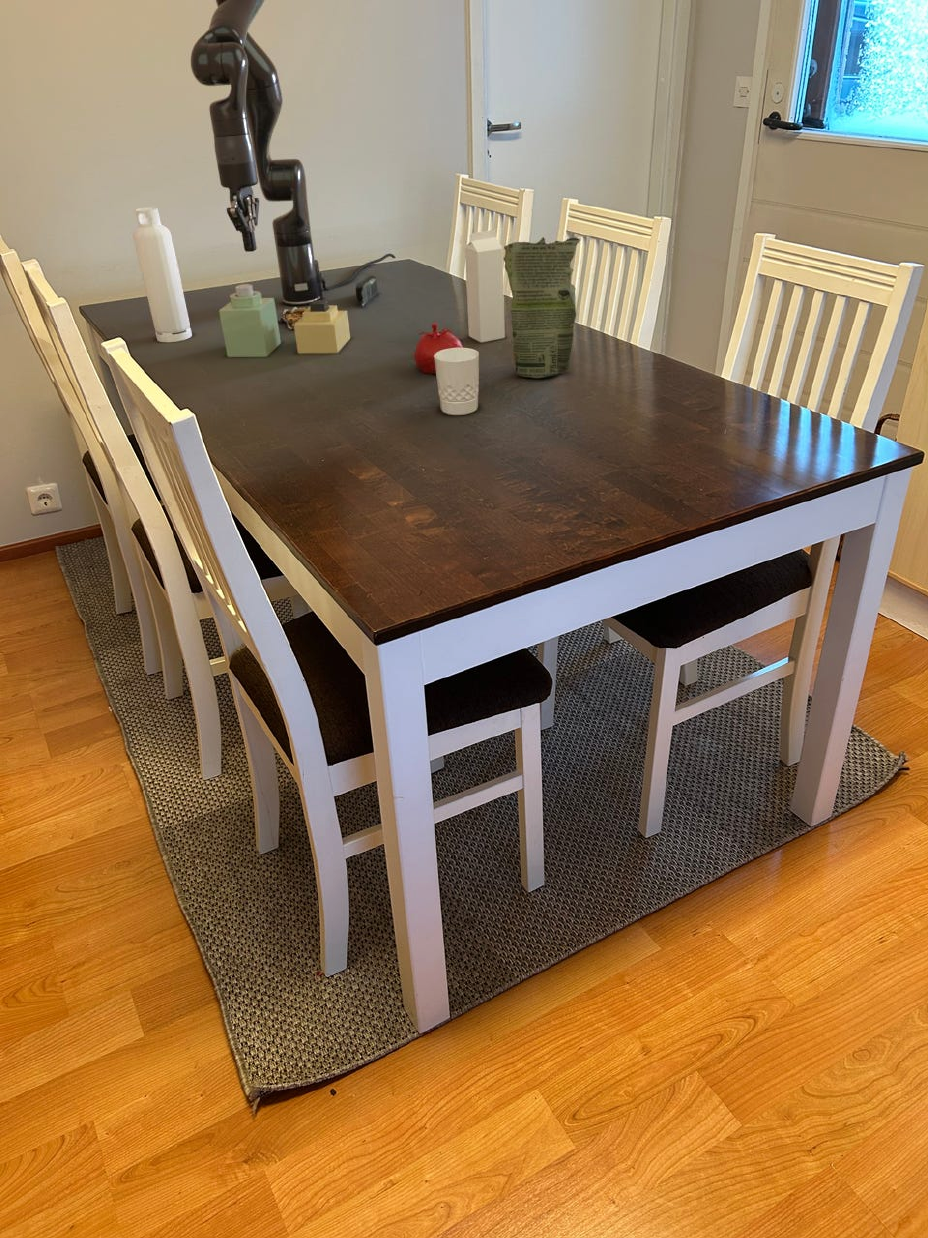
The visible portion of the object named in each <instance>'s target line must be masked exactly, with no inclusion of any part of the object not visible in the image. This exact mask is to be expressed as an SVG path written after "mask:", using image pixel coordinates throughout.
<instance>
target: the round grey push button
mask: <svg viewBox="0 0 928 1238" xmlns="http://www.w3.org/2000/svg"><path fill="white" fill-rule="evenodd" d="M253 291H254V287H253V284H250V283H244V284H239V285H236V286H235V293H236V294H237V297H248V296H252V295H254V293H253Z"/></svg>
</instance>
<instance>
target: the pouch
mask: <svg viewBox="0 0 928 1238" xmlns="http://www.w3.org/2000/svg"><path fill="white" fill-rule="evenodd" d="M580 242H581V238H577V236H572V237H569V238H567V239H566V240H563V241H560V240H555V241H553V242H549V243H547V242H546V238H545V237H544V236H542V238H541V239H540V240H539V241H537V242H530V241H515V242H512V243H508V244H507V245H504V246H503V248H504V257H503V263H504V269H505V271H506V273H507V278H508V284H509V288H510V291H511V296H512V300H511V304H510V309H511V310H510V313H511V327H512V339H513V341H512V344H511V346H512V348H511V349H512V354H513V360H514V364H515V375H517V376H519V377H522V378H531V379H544V378H548V377H549V378H550V377H554V376H555V375H558V374H560V373H563V372H568V373H569V370H570V361H571V360H570V359H571V355H572V349H573V341H574V333H575V322H576V317H577V304H576V303H577V302H576V299H577V297H576V290H577V289H576V286H575V285H574V284H572V274H573V272H574V269H573V267H572V261H573V259H574V257H575V255H576V250H577V246H578V244H579V243H580Z"/></svg>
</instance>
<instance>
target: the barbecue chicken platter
mask: <svg viewBox="0 0 928 1238" xmlns="http://www.w3.org/2000/svg"><path fill="white" fill-rule="evenodd" d="M306 309H307V307H304V306H303V307H299V308H298V307H296V306H294V307H293V308H291V309H290V310H289V309H286V308H284V309H283V312H282V314H281V317H282V318H279V319H278V321H279V322H280V324H282V323H283V322H286V324H287V328H289V330H291V329H293V330H294V324H295V323H296V322H297V321H299V320H300V319H301V318H302V317H303V315H302V313H303V312H304V311H305V310H306ZM279 322H278V323H279Z"/></svg>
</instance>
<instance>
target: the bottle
mask: <svg viewBox="0 0 928 1238" xmlns="http://www.w3.org/2000/svg"><path fill="white" fill-rule="evenodd" d="M134 211H135V214H136V220H137V224H138V227H137V228H136V229H135V231H133V236H132V237H133V241H134V245H135V250H136V255H137V258H138V262H139V267H140V271H141V277H142V280H143V286H144V290H145V293H146V298H147V302H148V307H149V311H150V315H151V319H152V324H153V328H154V330H155V332H154V333H155V336H156V340H157V342H160V343H176V342H183V341H186V340H187V339H190V338H192V337H193V333H192V327H190V325H191V322H190V318H189V314H188V309H187V303H186V299H185V295H184V290H183V284H182V279H181V274H180V271H179V270H180V269H179V265H178V260H177V256H176V252H175V251H176V250H175V246H174V241H173V237H172V232H171V231H170V229H169V228H168V227H167V226H165V225H163V224H162V222H161V218H160V212H159V208H158V207H157V206H147V207H139V208H136V209H135V210H134ZM146 214H148V216H146Z"/></svg>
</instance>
